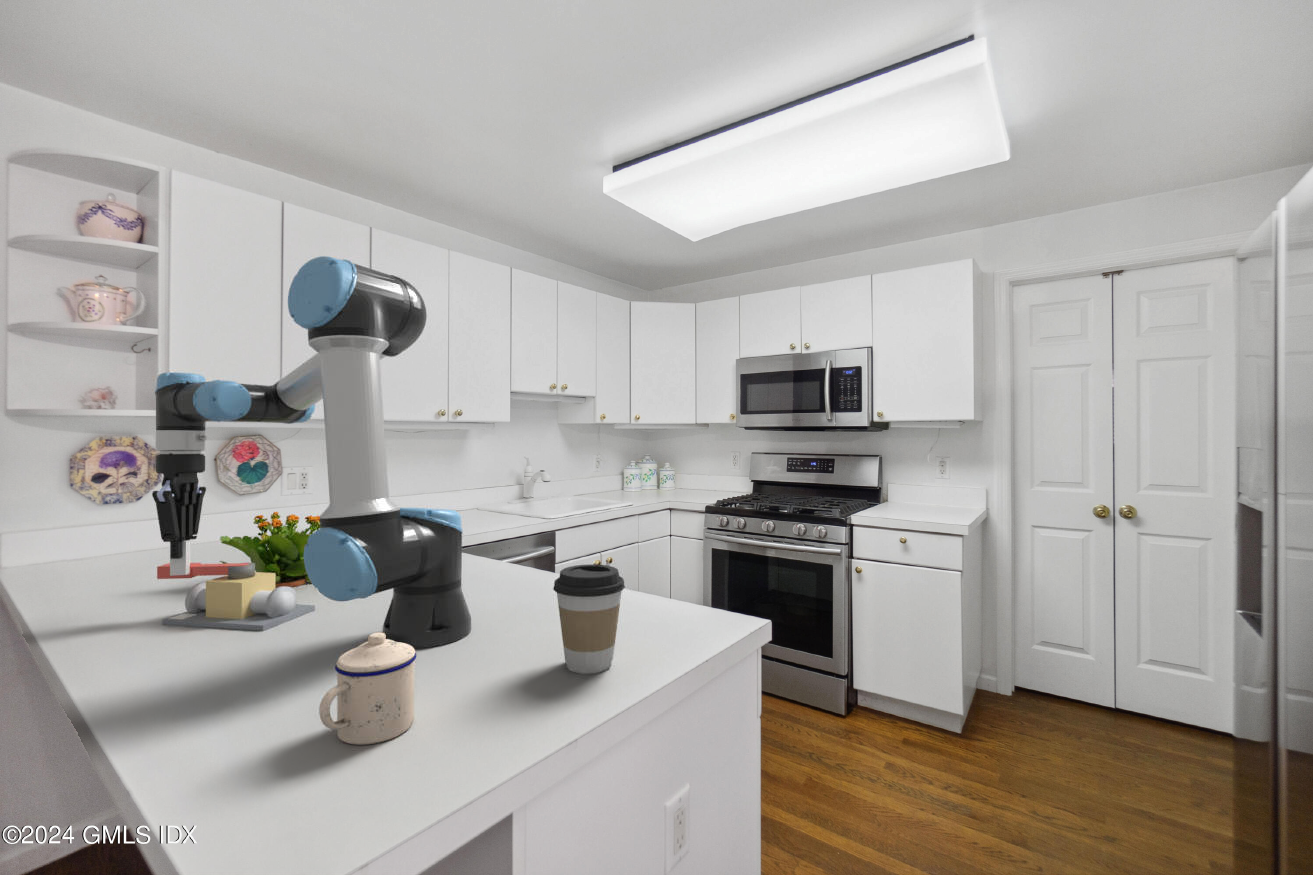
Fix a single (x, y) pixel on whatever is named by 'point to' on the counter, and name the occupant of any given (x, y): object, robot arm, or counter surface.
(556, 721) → the counter surface
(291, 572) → the potted flower
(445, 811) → the counter surface
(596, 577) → the coffee cup
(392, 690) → the teacup with lid
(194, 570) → the lever
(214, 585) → the valve base
